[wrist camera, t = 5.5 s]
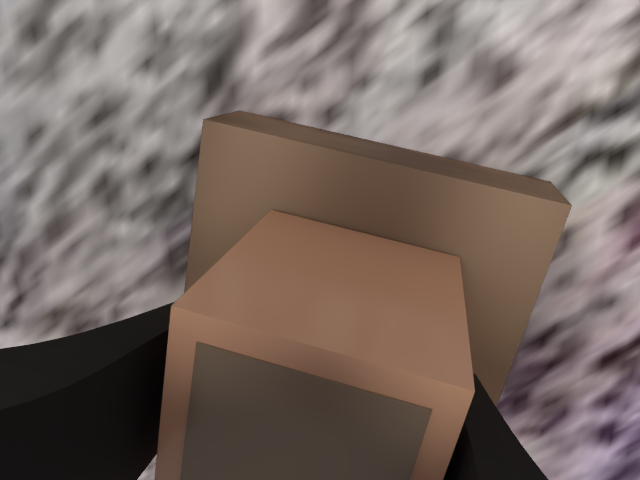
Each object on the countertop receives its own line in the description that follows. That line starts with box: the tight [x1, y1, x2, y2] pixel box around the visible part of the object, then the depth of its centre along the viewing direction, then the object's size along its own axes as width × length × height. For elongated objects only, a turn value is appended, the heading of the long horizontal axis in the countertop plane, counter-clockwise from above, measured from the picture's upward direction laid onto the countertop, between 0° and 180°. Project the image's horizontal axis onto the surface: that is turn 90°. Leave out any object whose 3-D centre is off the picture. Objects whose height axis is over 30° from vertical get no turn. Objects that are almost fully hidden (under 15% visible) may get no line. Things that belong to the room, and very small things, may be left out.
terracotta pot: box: [155, 210, 475, 480], centre depth 11 cm, size 5×5×6 cm
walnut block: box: [184, 111, 572, 406], centre depth 16 cm, size 9×9×3 cm
